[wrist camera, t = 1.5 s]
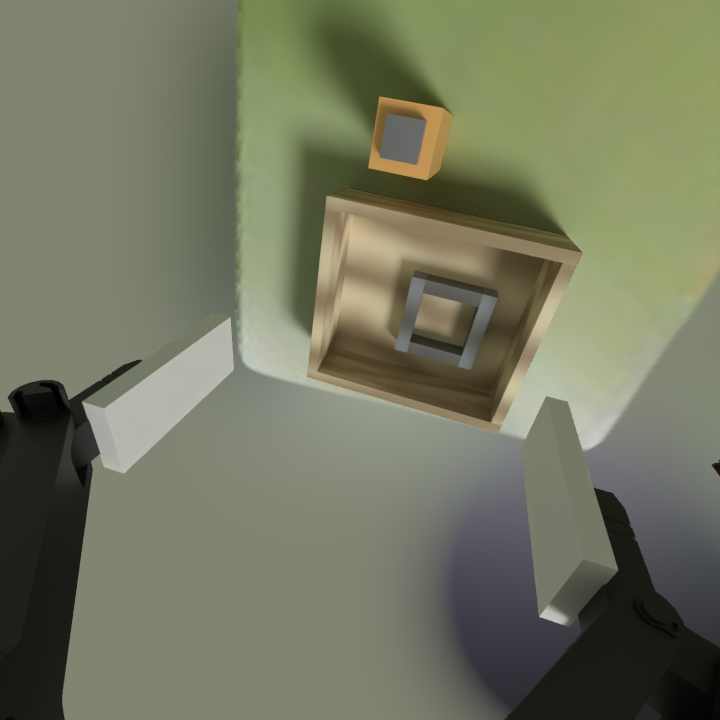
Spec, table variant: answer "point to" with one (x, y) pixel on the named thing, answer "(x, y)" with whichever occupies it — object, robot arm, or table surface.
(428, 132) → the block
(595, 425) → the table surface
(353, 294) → the walled box
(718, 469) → the electronic device
